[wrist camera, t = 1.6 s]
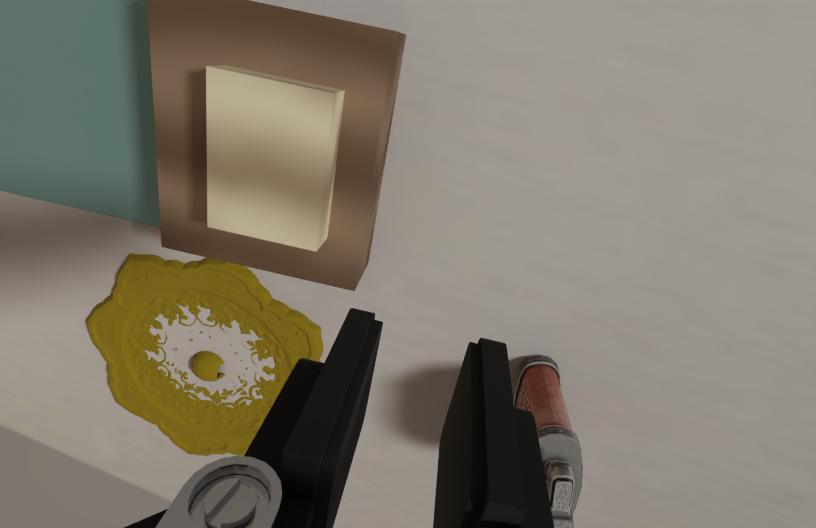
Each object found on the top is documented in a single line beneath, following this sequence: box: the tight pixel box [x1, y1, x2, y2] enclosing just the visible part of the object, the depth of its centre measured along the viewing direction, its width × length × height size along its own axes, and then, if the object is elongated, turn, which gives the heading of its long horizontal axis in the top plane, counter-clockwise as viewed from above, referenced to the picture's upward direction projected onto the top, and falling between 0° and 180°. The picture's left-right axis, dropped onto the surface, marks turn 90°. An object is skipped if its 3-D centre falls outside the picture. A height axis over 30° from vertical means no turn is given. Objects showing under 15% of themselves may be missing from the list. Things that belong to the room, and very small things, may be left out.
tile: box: [206, 65, 345, 252], centre depth 23 cm, size 8×6×2 cm
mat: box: [0, 0, 160, 227], centre depth 28 cm, size 15×14×1 cm
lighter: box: [513, 355, 583, 528], centre depth 29 cm, size 8×3×10 cm, turn 2°
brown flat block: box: [147, 0, 406, 291], centre depth 26 cm, size 14×12×4 cm
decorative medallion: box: [86, 253, 323, 456], centre depth 36 cm, size 20×20×1 cm
